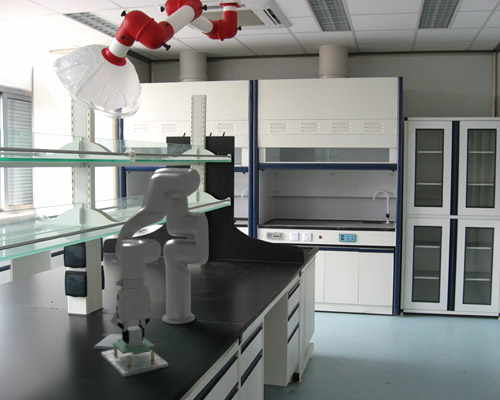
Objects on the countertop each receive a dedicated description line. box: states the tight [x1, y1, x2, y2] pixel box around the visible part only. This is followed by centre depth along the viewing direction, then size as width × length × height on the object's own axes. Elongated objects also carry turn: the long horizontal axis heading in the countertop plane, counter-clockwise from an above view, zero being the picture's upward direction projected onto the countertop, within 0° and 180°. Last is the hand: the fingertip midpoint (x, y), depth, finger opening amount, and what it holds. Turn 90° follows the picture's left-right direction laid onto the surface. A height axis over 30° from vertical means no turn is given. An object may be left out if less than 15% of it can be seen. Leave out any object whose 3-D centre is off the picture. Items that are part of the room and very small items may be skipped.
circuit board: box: [113, 325, 155, 355], centre depth 162 cm, size 14×10×6 cm
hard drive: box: [93, 333, 122, 351], centre depth 178 cm, size 2×8×12 cm
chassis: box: [100, 346, 169, 378], centre depth 162 cm, size 20×14×4 cm
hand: (133, 340), depth 162 cm, fingers closed on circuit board, 4 cm apart
